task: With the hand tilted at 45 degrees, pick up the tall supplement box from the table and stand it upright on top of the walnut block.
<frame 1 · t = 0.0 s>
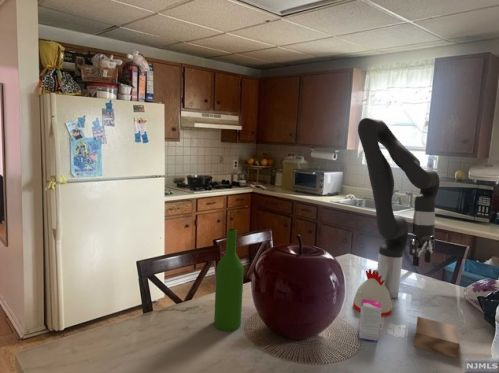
hand: (421, 264, 142), 17 cm above the table, tool pointing down, fingers open, 8 cm apart
wine bottle: (227, 324, 123), on the table
supplement box: (367, 337, 120), on the table
kitchen timer: (371, 308, 141), on the table
walnut block: (435, 343, 118), on the table
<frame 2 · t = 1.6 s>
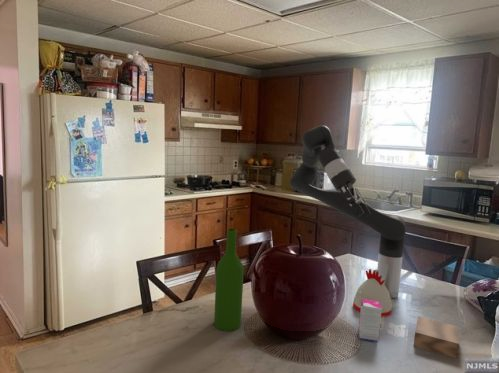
hand: (364, 214, 122), 39 cm above the table, tool tilted 40°, fingers open, 8 cm apart
nothing on the table moved.
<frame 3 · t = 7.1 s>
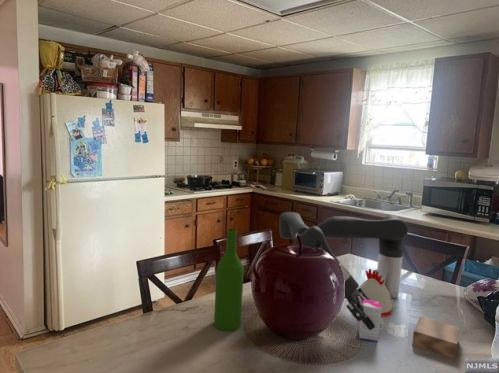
hand: (374, 323, 119), 5 cm above the table, tool tilted 45°, fingers closed on supplement box, 7 cm apart
supplement box: (367, 337, 120), on the table, touching gripper
everything else where it was.
when the fingers open (11 cm above the table, at t = 13.5 s): supplement box drops 2 cm, resting on walnut block.
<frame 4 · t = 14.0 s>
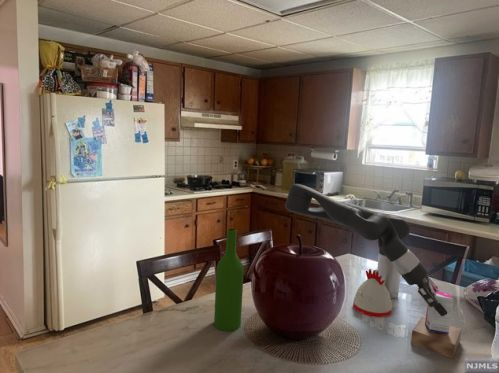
hand: (444, 309, 116), 12 cm above the table, tool tilted 45°, fingers open, 8 cm apart
supplement box: (436, 329, 118), point 5 cm above the table, touching gripper, walnut block
walnut block: (435, 344, 118), on the table, touching supplement box
everything else where it was.
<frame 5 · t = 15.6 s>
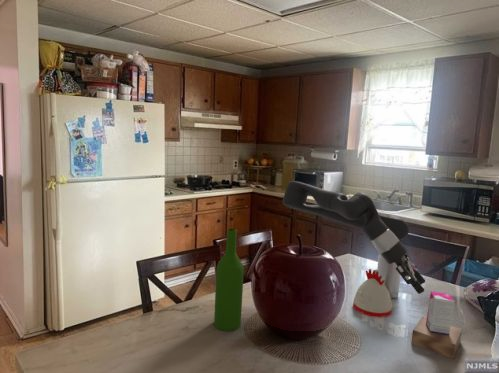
hand: (422, 287, 118), 18 cm above the table, tool tilted 45°, fingers open, 8 cm apart
supplement box: (437, 330, 118), point 4 cm above the table, touching walnut block
everything else where it was.
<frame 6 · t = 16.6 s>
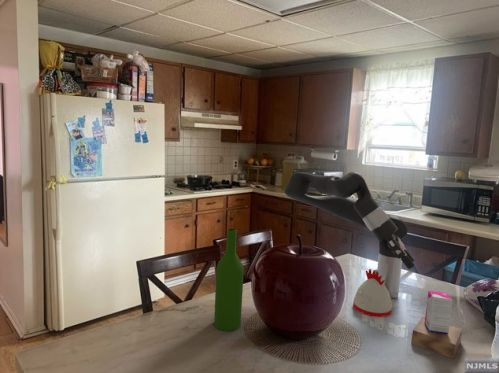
hand: (411, 264, 119), 24 cm above the table, tool tilted 45°, fingers open, 8 cm apart
supplement box: (436, 329, 118), point 4 cm above the table
walnut block: (435, 344, 118), on the table
everything else where it was.
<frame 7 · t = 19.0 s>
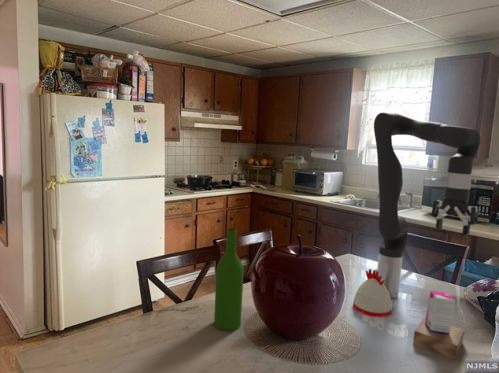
hand: (451, 232, 128), 33 cm above the table, tool pointing down, fingers open, 8 cm apart
supplement box: (436, 329, 118), point 4 cm above the table, touching walnut block
walnut block: (437, 345, 118), on the table, touching supplement box
everything else where it was.
at the end: supplement box inside the target area on the walnut block (0.9 cm from its centre), point 4.9 cm above the walnut block's base; supplement box tilted 1°; the gripper is holding nothing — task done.
